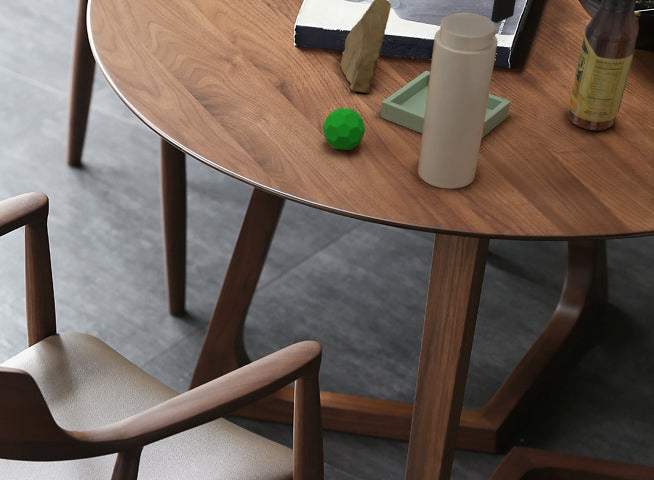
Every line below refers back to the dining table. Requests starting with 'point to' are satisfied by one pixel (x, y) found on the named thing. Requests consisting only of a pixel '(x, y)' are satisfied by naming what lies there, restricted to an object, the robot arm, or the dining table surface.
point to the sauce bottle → (604, 65)
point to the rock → (365, 46)
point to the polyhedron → (343, 129)
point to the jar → (457, 99)
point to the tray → (411, 106)
